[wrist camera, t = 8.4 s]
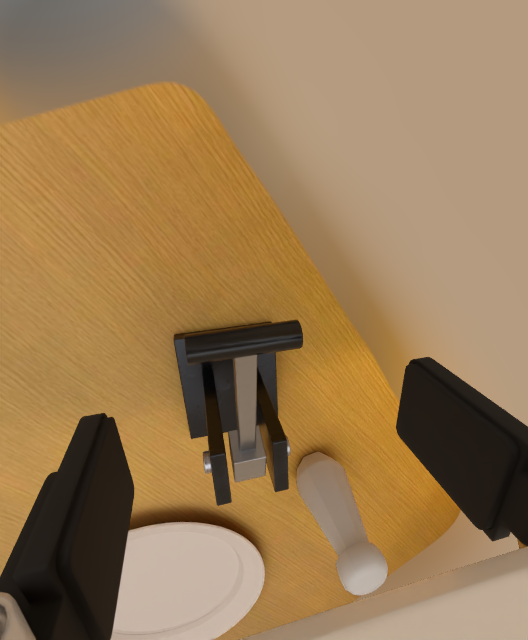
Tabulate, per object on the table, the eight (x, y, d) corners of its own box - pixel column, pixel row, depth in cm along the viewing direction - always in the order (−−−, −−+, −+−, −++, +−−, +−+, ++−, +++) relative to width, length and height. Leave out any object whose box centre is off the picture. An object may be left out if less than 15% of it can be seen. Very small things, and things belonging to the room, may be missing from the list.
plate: (298, 536, 43) (303, 551, 41) (195, 651, 47) (195, 670, 46) (116, 480, 33) (112, 497, 31) (7, 633, 38) (-2, 656, 36)
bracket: (174, 334, 29) (166, 419, 18) (271, 321, 30) (317, 392, 20) (190, 431, 33) (193, 546, 22) (275, 414, 35) (315, 515, 24)
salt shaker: (337, 442, 38) (405, 553, 26) (335, 477, 40) (396, 595, 28) (290, 451, 37) (340, 572, 25) (290, 487, 39) (335, 614, 27)
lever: (183, 321, 15) (185, 357, 14) (292, 307, 16) (308, 339, 15) (207, 455, 24) (211, 488, 22) (279, 440, 25) (287, 470, 23)
